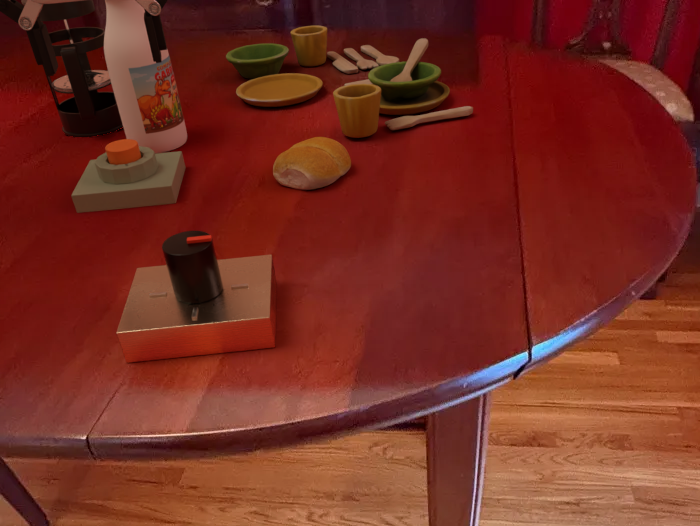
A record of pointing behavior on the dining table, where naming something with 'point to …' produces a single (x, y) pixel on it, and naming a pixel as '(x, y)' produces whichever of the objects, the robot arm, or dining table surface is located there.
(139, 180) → the control box
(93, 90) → the french press
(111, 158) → the button
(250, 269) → the panel
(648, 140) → the dining table surface
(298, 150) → the bread roll
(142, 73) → the milk bottle
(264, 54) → the tableware set
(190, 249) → the hob knob
